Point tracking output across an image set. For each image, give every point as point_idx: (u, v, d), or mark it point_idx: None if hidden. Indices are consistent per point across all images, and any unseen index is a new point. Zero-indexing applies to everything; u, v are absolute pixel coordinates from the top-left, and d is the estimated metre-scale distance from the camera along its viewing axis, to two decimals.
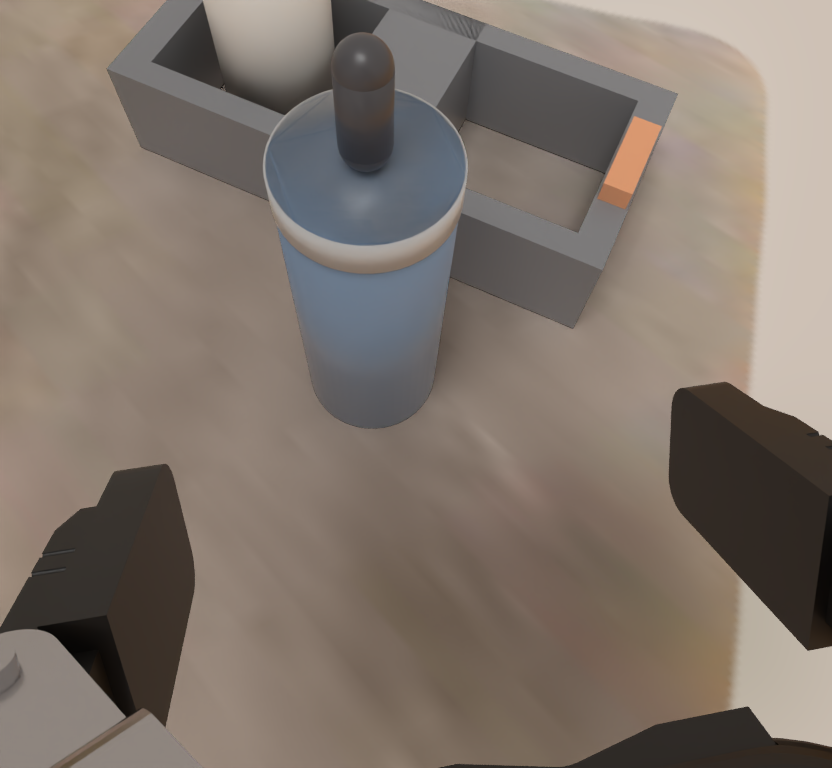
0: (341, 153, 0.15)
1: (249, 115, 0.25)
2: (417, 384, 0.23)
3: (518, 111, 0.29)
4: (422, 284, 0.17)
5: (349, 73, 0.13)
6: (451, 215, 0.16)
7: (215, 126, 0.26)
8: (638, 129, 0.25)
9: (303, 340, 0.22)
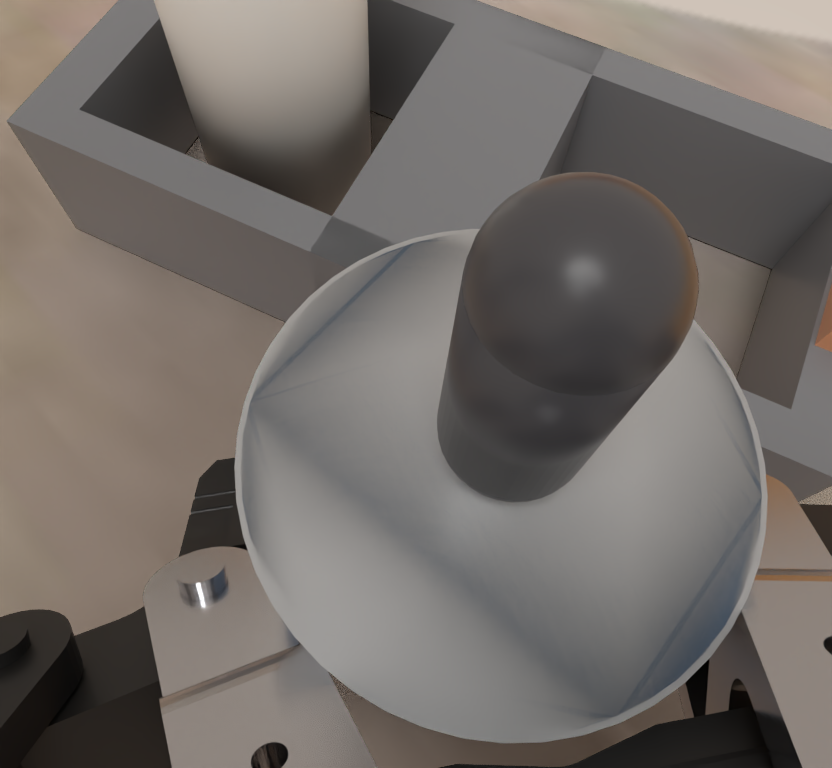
0: (452, 463, 0.05)
1: (234, 200, 0.16)
2: None
3: (644, 178, 0.19)
4: None
5: (552, 343, 0.03)
6: (736, 604, 0.06)
7: (181, 213, 0.16)
8: None
9: None
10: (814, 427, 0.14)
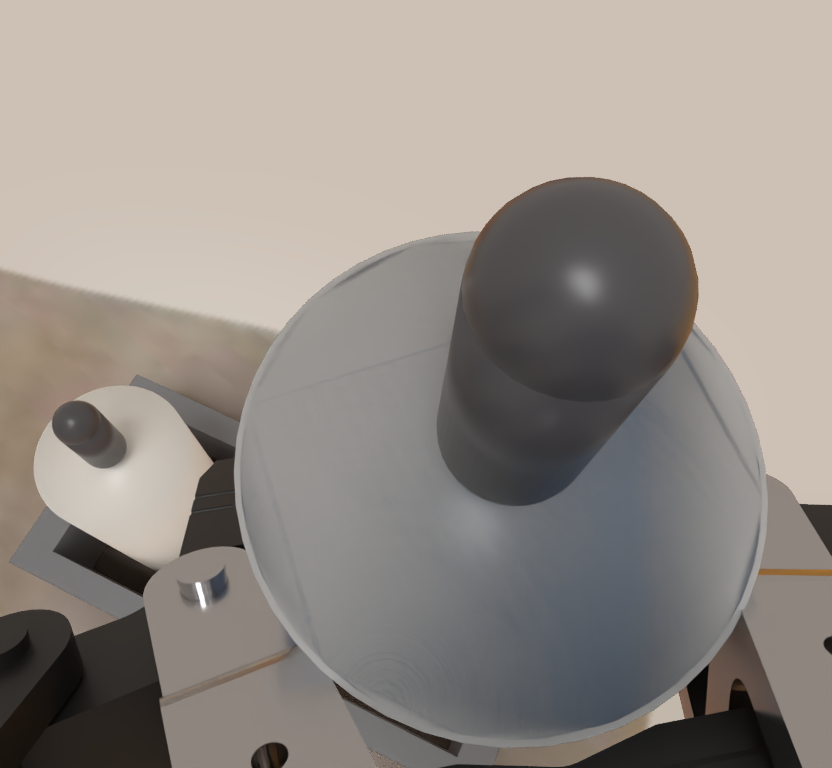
0: (451, 467, 0.05)
1: None
2: None
3: None
4: None
5: (551, 349, 0.03)
6: (736, 608, 0.06)
7: None
8: None
9: None
10: None
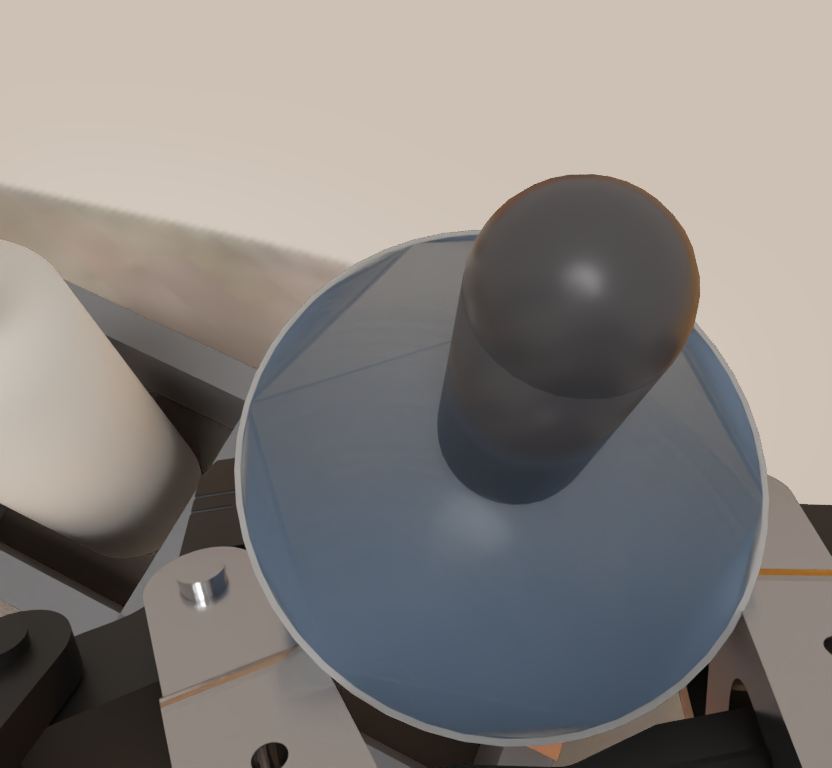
0: (452, 466, 0.05)
1: (38, 598, 0.19)
2: None
3: None
4: None
5: (552, 346, 0.03)
6: (737, 607, 0.06)
7: None
8: None
9: None
10: None
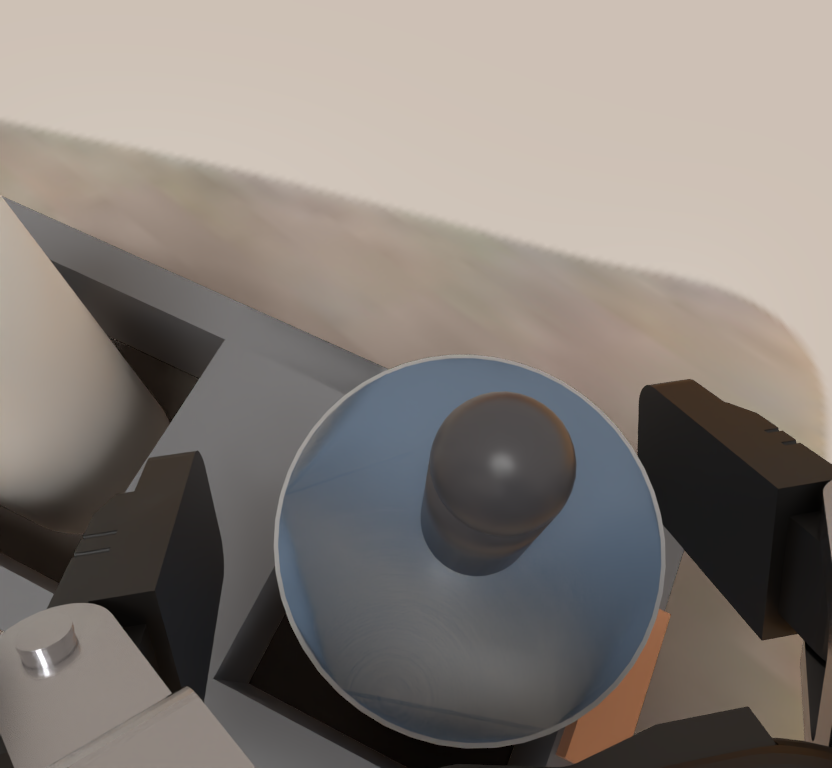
0: (430, 549, 0.08)
1: None
2: None
3: None
4: None
5: (481, 510, 0.06)
6: (640, 646, 0.08)
7: None
8: None
9: None
10: None
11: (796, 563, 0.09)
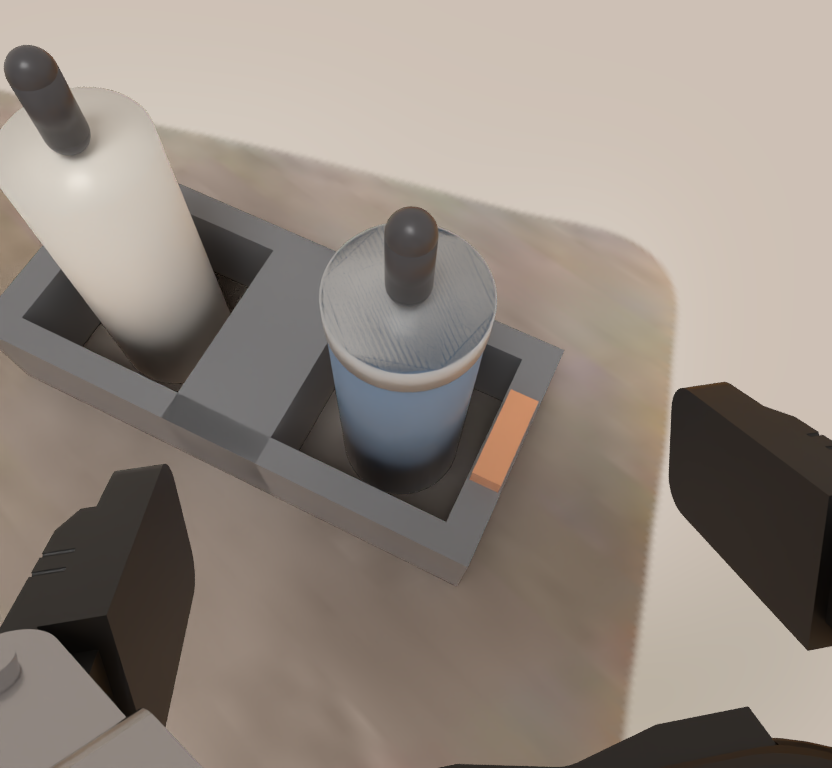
0: (388, 293, 0.18)
1: (116, 382, 0.25)
2: (444, 459, 0.26)
3: None
4: (455, 393, 0.20)
5: (401, 244, 0.16)
6: (482, 343, 0.18)
7: (86, 385, 0.25)
8: (513, 405, 0.24)
9: (342, 422, 0.25)
10: (458, 533, 0.23)
11: None
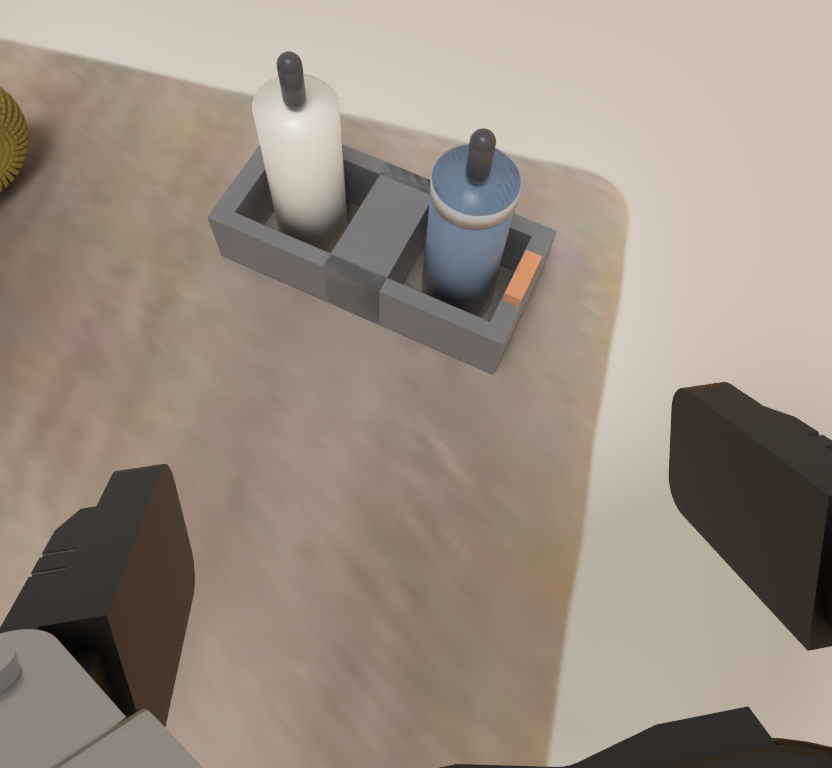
0: (467, 176, 0.35)
1: (294, 247, 0.42)
2: (485, 295, 0.43)
3: None
4: (498, 235, 0.37)
5: (479, 145, 0.33)
6: (514, 203, 0.36)
7: (273, 252, 0.43)
8: (527, 258, 0.42)
9: (427, 270, 0.42)
10: (497, 327, 0.41)
11: None
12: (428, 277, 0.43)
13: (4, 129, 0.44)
